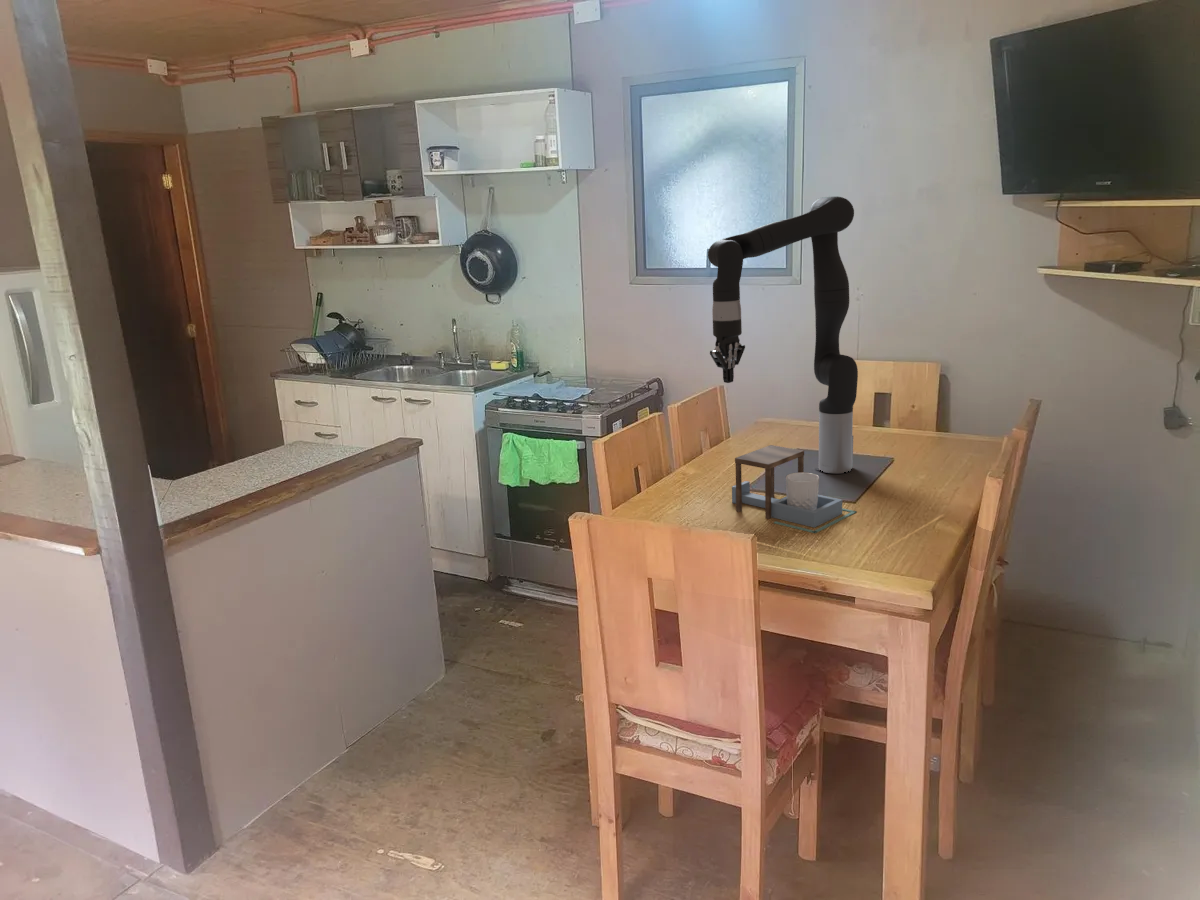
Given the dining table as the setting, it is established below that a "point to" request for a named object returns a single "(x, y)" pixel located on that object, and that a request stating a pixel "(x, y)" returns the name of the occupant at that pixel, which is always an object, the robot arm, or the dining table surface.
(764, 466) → the small brown wooden table
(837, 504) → the sled frame
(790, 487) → the white cup
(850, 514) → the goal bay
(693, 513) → the dining table surface
